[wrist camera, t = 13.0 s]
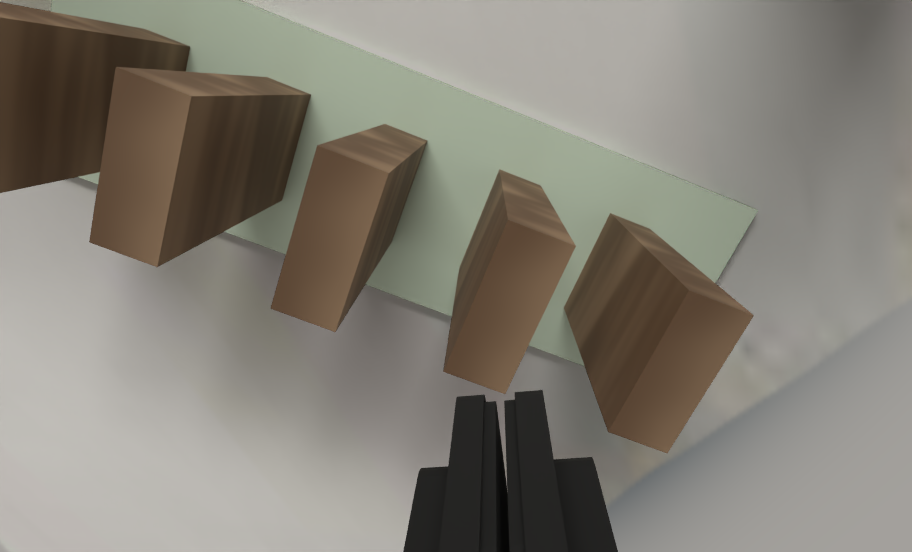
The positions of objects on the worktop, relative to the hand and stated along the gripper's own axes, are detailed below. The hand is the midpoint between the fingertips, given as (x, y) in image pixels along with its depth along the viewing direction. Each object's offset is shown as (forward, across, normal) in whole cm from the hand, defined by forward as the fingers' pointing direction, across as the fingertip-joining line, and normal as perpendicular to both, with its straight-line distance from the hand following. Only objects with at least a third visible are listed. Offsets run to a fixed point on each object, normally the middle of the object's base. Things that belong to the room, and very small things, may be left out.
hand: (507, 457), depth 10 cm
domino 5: (+20, -6, +4) cm, 21 cm away
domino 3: (+20, +6, -2) cm, 21 cm away
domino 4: (+20, 0, +1) cm, 20 cm away
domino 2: (+20, +12, -6) cm, 24 cm away
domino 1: (+20, +17, -9) cm, 28 cm away
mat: (+21, +6, -2) cm, 22 cm away
